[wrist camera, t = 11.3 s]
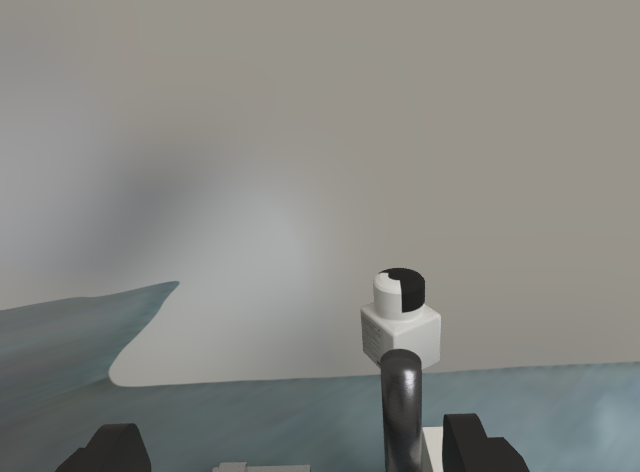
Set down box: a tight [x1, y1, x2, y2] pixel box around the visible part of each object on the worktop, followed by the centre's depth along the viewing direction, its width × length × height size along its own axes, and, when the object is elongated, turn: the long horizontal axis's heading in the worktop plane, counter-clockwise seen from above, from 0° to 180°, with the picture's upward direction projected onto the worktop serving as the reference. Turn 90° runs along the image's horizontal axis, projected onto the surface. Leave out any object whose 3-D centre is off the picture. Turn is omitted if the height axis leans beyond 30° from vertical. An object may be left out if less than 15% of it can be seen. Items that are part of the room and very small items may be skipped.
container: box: [361, 268, 441, 370], centre depth 50 cm, size 8×8×13 cm
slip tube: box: [380, 349, 422, 472], centre depth 29 cm, size 16×3×17 cm, turn 88°
